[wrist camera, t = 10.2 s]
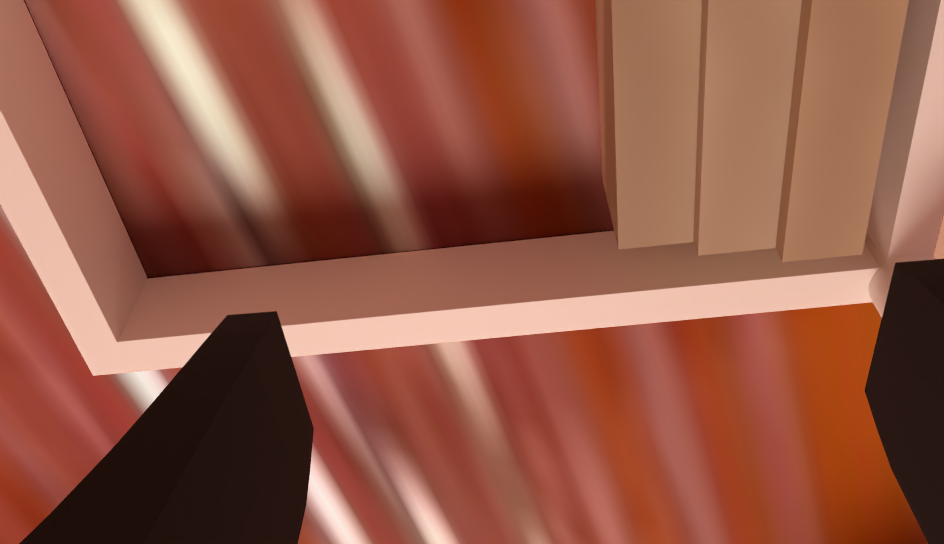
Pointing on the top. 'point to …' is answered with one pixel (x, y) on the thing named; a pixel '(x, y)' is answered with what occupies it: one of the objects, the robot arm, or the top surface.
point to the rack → (436, 270)
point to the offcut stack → (745, 121)
